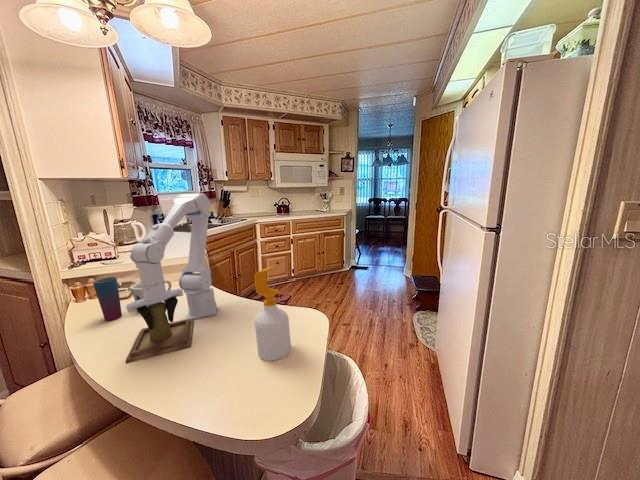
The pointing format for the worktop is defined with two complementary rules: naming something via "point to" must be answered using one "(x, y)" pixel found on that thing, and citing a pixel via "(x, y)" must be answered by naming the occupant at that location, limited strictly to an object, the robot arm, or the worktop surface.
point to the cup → (108, 297)
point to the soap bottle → (271, 323)
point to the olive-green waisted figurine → (159, 322)
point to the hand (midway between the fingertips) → (161, 324)
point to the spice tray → (175, 342)
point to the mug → (138, 291)
